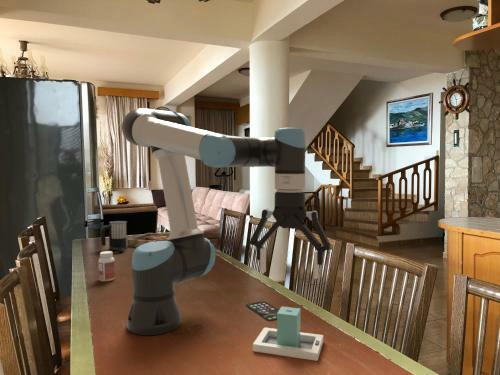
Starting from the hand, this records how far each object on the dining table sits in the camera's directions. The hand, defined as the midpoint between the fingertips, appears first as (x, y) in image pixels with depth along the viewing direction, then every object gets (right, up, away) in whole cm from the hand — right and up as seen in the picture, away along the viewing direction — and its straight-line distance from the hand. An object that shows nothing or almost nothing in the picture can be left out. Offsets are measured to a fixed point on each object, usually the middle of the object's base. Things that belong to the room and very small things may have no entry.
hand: (289, 275), depth 99 cm
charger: (0, -18, +1) cm, 18 cm away
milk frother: (-81, -12, +112) cm, 139 cm away
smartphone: (-5, -18, +25) cm, 31 cm away
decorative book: (-63, -11, +127) cm, 142 cm away
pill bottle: (-67, -15, +59) cm, 91 cm away
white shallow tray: (0, -18, +1) cm, 19 cm away
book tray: (-64, -11, +128) cm, 144 cm away
